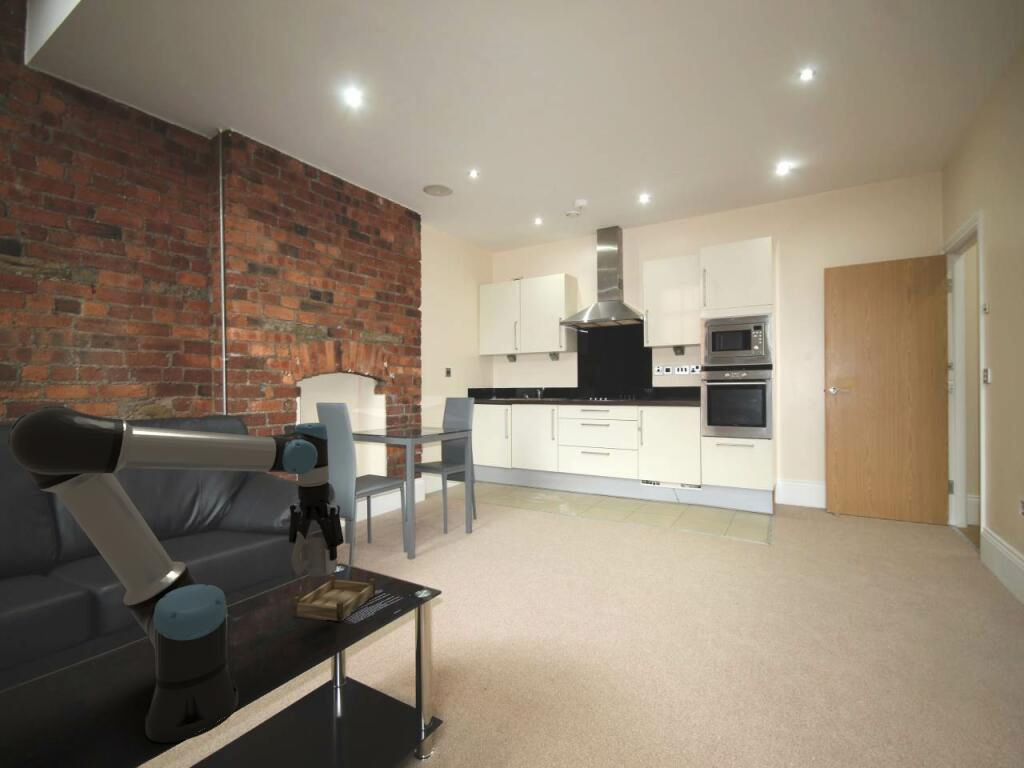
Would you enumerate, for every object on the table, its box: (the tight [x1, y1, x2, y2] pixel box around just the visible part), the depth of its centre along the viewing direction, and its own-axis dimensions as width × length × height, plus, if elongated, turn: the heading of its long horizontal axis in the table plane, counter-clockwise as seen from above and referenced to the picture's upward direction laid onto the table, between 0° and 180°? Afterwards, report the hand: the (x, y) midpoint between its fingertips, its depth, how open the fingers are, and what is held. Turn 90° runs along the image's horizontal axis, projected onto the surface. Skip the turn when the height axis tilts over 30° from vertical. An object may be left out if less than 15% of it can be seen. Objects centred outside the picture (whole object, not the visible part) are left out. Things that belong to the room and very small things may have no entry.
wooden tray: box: [292, 573, 376, 621], centre depth 142 cm, size 17×15×5 cm
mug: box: [290, 530, 338, 578], centre depth 127 cm, size 8×12×12 cm, turn 141°
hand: (317, 570), depth 127 cm, fingers closed on mug, 8 cm apart
